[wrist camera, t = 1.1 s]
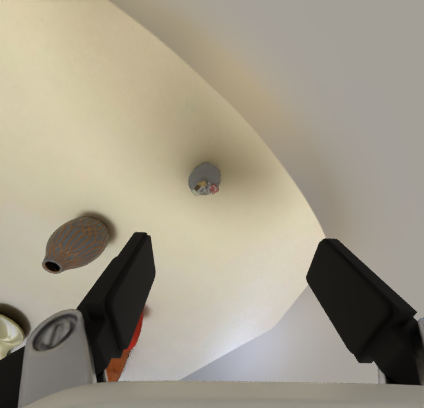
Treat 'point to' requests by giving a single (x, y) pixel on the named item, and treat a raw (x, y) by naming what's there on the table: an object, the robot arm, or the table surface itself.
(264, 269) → the table surface
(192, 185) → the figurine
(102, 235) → the vase
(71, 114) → the table surface
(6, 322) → the spoon
